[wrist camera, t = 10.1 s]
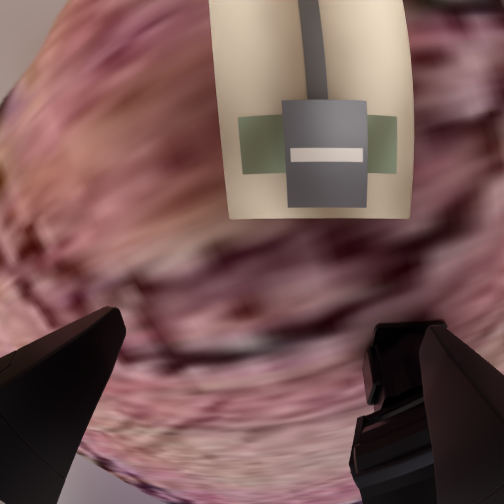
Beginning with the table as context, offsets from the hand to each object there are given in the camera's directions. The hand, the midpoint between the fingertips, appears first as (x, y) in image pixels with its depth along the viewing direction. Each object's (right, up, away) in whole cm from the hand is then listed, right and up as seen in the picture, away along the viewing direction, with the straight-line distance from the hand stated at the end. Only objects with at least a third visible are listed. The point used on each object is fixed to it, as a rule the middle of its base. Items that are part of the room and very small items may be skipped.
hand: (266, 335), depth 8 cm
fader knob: (+3, +7, +6) cm, 10 cm away
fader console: (+3, +15, +6) cm, 17 cm away
